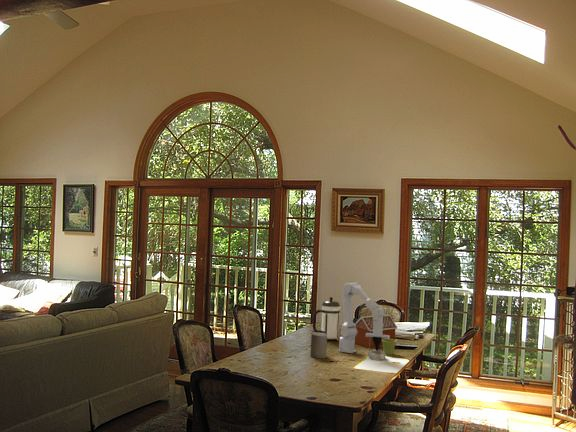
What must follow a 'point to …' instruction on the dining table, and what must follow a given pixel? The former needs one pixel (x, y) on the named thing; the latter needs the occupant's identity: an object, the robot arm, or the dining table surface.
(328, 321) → the coffee press
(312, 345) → the pillar candle
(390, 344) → the plant pot
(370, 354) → the faceted ring
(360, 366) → the dining table surface
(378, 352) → the cap
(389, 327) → the gingerbread house
